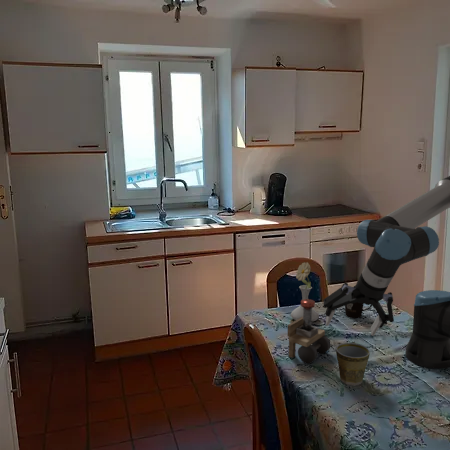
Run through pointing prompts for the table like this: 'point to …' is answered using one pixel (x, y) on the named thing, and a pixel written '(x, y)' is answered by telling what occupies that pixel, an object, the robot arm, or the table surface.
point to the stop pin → (307, 313)
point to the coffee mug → (354, 309)
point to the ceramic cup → (352, 362)
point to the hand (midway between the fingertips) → (349, 327)
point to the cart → (307, 341)
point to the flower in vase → (304, 291)
